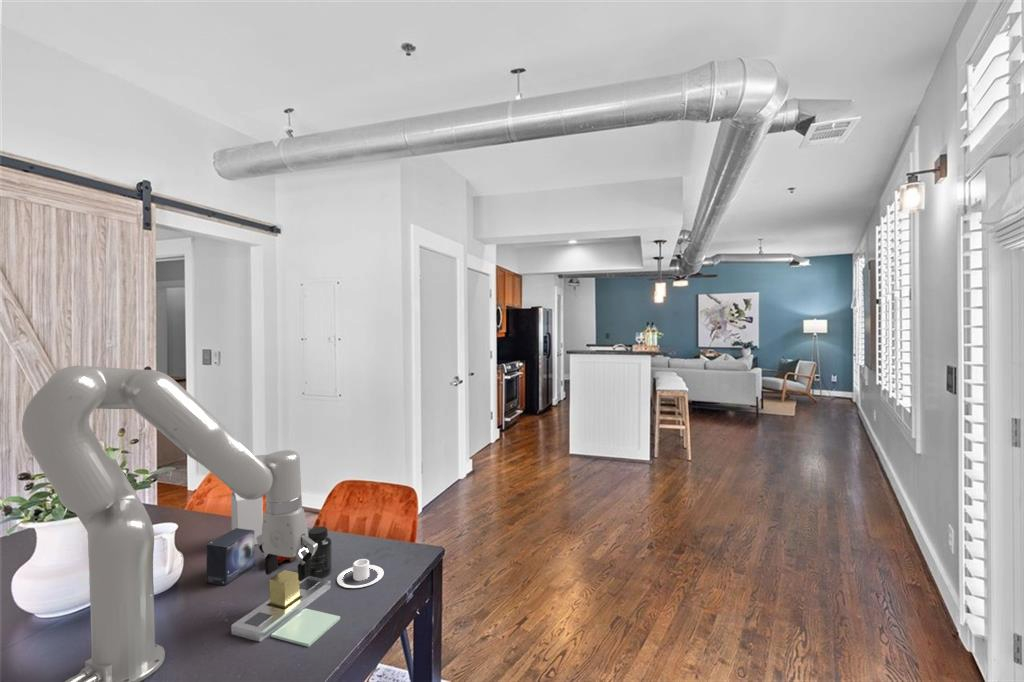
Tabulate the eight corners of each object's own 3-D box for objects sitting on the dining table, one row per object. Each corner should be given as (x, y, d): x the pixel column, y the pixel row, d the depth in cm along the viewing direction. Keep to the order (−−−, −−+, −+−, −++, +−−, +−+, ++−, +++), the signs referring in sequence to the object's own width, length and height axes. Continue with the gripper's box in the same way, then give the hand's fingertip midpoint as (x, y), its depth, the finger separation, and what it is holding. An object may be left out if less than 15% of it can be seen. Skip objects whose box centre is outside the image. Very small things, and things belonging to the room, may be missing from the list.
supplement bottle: (305, 569, 131) (304, 526, 131) (331, 565, 134) (331, 522, 133) (304, 582, 125) (304, 537, 124) (332, 577, 127) (331, 532, 127)
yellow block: (285, 616, 110) (284, 582, 110) (270, 612, 111) (269, 579, 111) (299, 605, 114) (299, 573, 114) (284, 602, 116) (284, 570, 115)
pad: (308, 646, 99) (308, 644, 99) (271, 637, 103) (271, 634, 103) (340, 619, 109) (340, 616, 109) (305, 610, 112) (305, 608, 112)
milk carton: (231, 542, 148) (230, 481, 147) (256, 535, 153) (255, 476, 152) (237, 550, 143) (236, 487, 142) (263, 542, 147) (262, 482, 147)
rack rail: (260, 641, 101) (259, 632, 101) (231, 634, 104) (231, 624, 103) (330, 587, 122) (330, 579, 122) (305, 582, 124) (305, 574, 124)
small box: (226, 586, 123) (225, 546, 122) (205, 583, 124) (204, 544, 124) (256, 566, 133) (255, 529, 133) (236, 563, 134) (235, 527, 134)
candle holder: (336, 594, 120) (336, 577, 119) (337, 571, 131) (337, 555, 131) (385, 585, 123) (385, 569, 123) (382, 564, 135) (382, 549, 135)
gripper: (242, 506, 111) (246, 577, 112) (302, 514, 106) (305, 589, 107) (268, 495, 118) (272, 561, 119) (325, 502, 113) (328, 572, 114)
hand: (288, 574), depth 113 cm, fingers open, 9 cm apart
